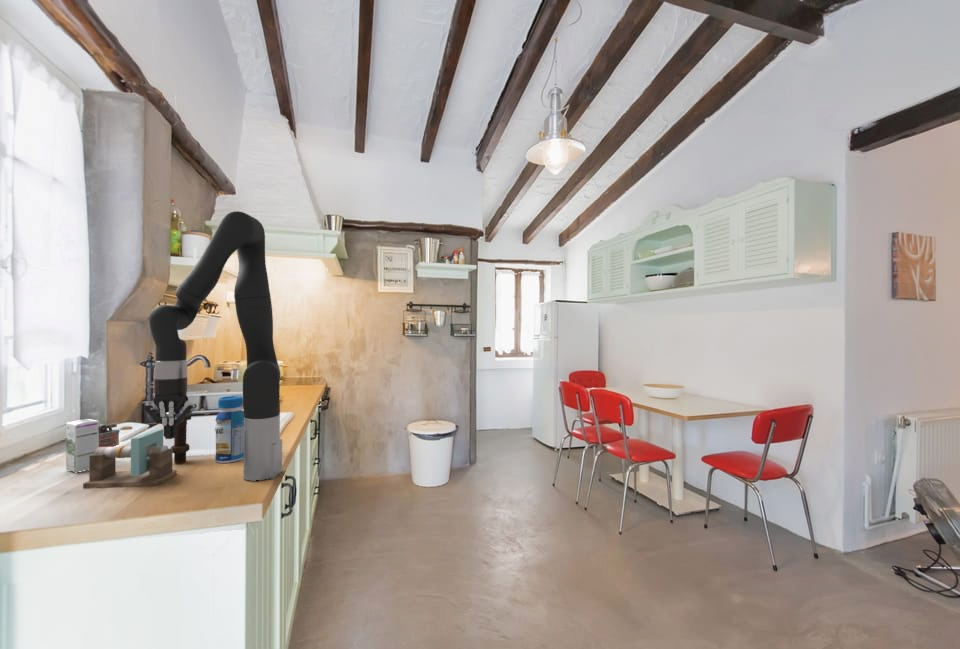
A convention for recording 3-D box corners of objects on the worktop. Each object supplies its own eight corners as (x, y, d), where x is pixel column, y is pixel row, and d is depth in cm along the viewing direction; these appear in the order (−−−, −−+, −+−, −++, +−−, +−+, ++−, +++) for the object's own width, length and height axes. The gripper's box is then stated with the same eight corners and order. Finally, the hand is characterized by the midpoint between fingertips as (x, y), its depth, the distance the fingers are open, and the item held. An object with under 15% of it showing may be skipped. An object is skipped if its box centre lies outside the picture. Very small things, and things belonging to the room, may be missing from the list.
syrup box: (99, 467, 127) (100, 419, 127) (74, 474, 122) (74, 424, 122) (90, 465, 129) (90, 418, 129) (64, 471, 124) (65, 422, 124)
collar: (163, 463, 122) (163, 429, 122) (138, 475, 112) (139, 438, 112) (155, 463, 122) (155, 429, 122) (130, 476, 112) (131, 438, 112)
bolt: (178, 466, 129) (178, 417, 129) (164, 465, 130) (165, 416, 130) (194, 460, 134) (195, 413, 135) (181, 459, 136) (182, 412, 136)
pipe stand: (176, 474, 122) (176, 440, 122) (156, 485, 113) (156, 450, 113) (109, 475, 120) (109, 442, 120) (83, 488, 111) (83, 451, 111)
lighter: (89, 458, 136) (89, 427, 136) (86, 456, 137) (86, 426, 137) (121, 452, 142) (121, 422, 143) (117, 450, 144) (117, 421, 144)
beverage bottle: (246, 460, 134) (246, 398, 134) (214, 465, 130) (215, 400, 130) (244, 454, 141) (244, 394, 141) (214, 458, 137) (215, 396, 137)
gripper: (203, 374, 122) (202, 434, 122) (154, 374, 121) (154, 435, 121) (188, 378, 115) (187, 441, 115) (136, 378, 113) (135, 442, 113)
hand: (170, 438), depth 118 cm, fingers closed
